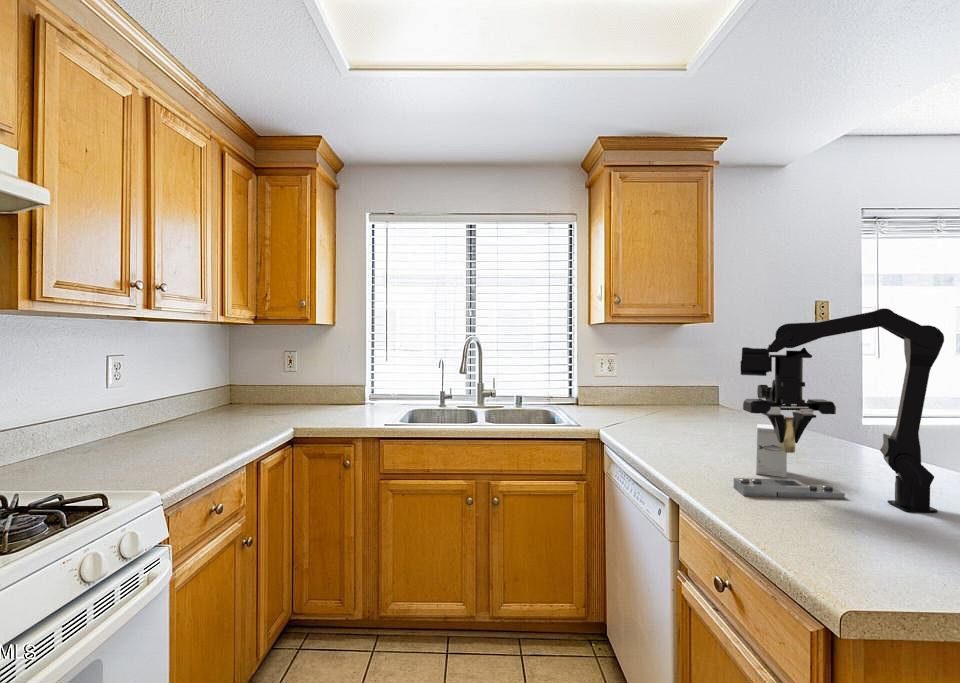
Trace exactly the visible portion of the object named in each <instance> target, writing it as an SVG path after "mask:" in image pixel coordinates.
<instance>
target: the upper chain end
mask: <svg viewBox="0 0 960 683" xmlns="http://www.w3.org/2000/svg"><path fill="white" fill-rule="evenodd" d="M782 485H788V486H782ZM806 485H807V484H806V483H803V482H801V481H799V480H797V479H794V478H793V479H789V478H753V477H752V478H748V477H747V478H746V477H745V478H744V477H733V489H735V490H736V491H737V492H738V493H740V494H741V495H742V496H744V497H754V498H755V497H759V498H761V497H763V498H765V497H766V498H778V497H777V492H799V493H810V487H808V486H806Z"/></svg>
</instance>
